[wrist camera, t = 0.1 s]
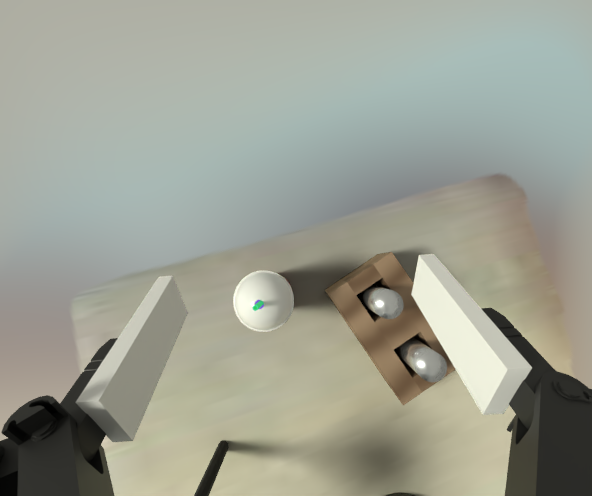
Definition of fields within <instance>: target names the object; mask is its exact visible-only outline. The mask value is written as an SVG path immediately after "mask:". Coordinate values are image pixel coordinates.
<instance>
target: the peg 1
mask: <svg viewBox="0 0 592 496" xmlns="http://www.w3.org/2000/svg"><path fill="white" fill-rule="evenodd" d="M362 301H363V304H364V305H365V306H366V307H367V308H368V309H370V310H371V311H373V312H374V313H376V314H378V315H379V316H381V317H382V318H385V319H394V318H396V317H398V316H399V315H400V314H401V312H402V310H403V306H404V305H403V299H402V297H401V296H400V295H399V294H398V293H397V292H395V291H393V290H389V289H386V288H382V287H378V286H370V287H368V288H366V289H365V290H364V292H363V294H362Z"/></svg>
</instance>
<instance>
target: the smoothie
mask: <svg viewBox="0 0 592 496" xmlns="http://www.w3.org/2000/svg"><path fill="white" fill-rule="evenodd" d="M233 306H234V310H235V313H236V316H237V317H238V318H239V320H240V321H241V323H242V324H244V325H245V326H246V327H248V328H249V329H251V330H255V331H258V332H270V331H272V330H275V329H278V328H279V327H281V326H282V325H283V324H285V323H286V321H287V320H288V319H289V317H290V316H291V314H292V310H293V307H294V295H293V292H292V288H291V285H290V283H289V281H288V280H287V279H286V278H285V277H283V276H282V275H279V274H278V273H275V272H272V271H269V270H258V271H256V272H253V273H250V274H248V275H247V276H246V277H244V278H243V279H242V280H241V281H240V283H239V284H238V285H237V287H236V290H235V293H234V296H233Z"/></svg>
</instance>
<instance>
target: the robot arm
mask: <svg viewBox="0 0 592 496" xmlns="http://www.w3.org/2000/svg"><path fill="white" fill-rule="evenodd" d="M411 295H412V296H413V298H414V300H415V301H416V303H417V305H418V307H419V308H420V310H421V312H422V313H423V315H424V317H425V318H426V320H427V322H428V323H429V325H430V327H431V328H432V330H433V332H434V334H435V335H436V337H437V339H438V340H439V342H440V344H441V345H442V347H443V349H444V350H445V352H446V354H447V355H448V357H449V359H450V361H451V362H452V364H453V366H454V367H455V369H456V371H457V372H458V374H459V376H460V377H461V379H462V381H463V382H464V384H465V386H466V388H467V389H468V391H469V393H470V394H471V396H472V398H473V399H474V401H475V403H476V404H477V406H478V408H479V409H480V411H481V413H482V415H490V414H504V412H505V411H506V409H507V407H508V406H509V405H510V406H511V407H512V409H513V410H514V412H515V413H516V415H515V417H514V418H513V420H512V421H511V423H510V424H509V426H508V428H507V431H509V432H511V430H512V429H513V430H512V439H511V447H510V456H509V464H508V473H507V482H506V490H505V496H592V389H589V388H588V387H586V386H585V385H584V384H582V383H581V382H580V381H578V380H577V379H575V378H573V377H571V376H569V375H567V374H563V373H560V372H557V371H556V370H554V369H553V368H552V367H551V365H550V364H549V363H548V362H547V361H546V360H545V359H544V358H543V357H542V356H541V355H540V354H539V353H538V352H537V351H536V349H535V348H534V347H533V346H532V345H531V344H530V343H529V342H528V341H527V340H526V339H525V338H524V337H522V335H521V333H520V332H519V331H518V330H517V329H516V328H514V326H513V325H512V324H511V323H510V322H509V321H508V320H507V319H506V317H505V316H503V315H502V314H500V313H499V312H497V311H495V310H494V309H492V308H483V309H481V308H480V307H479V306H478V304H477V303H476V302H475V301H474V300H473V299H472V298H471V296H470V295H469V294H468V293H467V292H466V291H465V289H464V288H463V287H462V286H461V285H460V284H459V282H458V281H457V280H456V279H455V278H454V277H453V276H452V274H451V273H450V272H449V271H448V270H447V269H446V267H445V266H444V265H443V264H442V263H441V262H440V261H439V259H438V258H437V257H436V256H435V255H434V254H424V255H419V258H418V263H417V268H416V273H415V278H414V284H413V289H412V294H411ZM187 314H188V312H187V309H186V307H185V304H184V302H183V299H182V297H181V294H180V292H179V289H178V287H177V284H176V282H175V279H174V277H173V276H161V277H158V279H157V280H156V282H155V283H154V285H153V286H152V288H151V289H150V291H149V292H148V294H147V295H146V297H145V298H144V300H143V301H142V303H141V304H140V306H139V307H138V309H137V310H136V312H135V313H134V315H133V316H132V318H131V319H130V321H129V322H128V324H127V325H126V327H125V328H124V330H123V331H122V333H121V334H120V336H119V337H118V338H116V339H110V340H109V341H108V342H106V343H105V344H104V345H103V346H102V347H101V348H100V349H99V350H98V351H97V353H96V354H95V355H94V357H93V358H92V360H91V363H89V364H88V365H87V367H86V368H85V369H84V370H85V371H84V372H82V374H81V375H80V377H79V378H78V379H77V381H76V382H75V384H74V385H73V386H72V388H71V389H70V391H69V392H68V393H67V395H66V396H65V398H64V399H63V401H62V402H61V403H60V404H59V403H58V402H57V401H56V400H55V399H54V398H53V397H50V396H42V397H38V398H36V399H33V400H31V401H29V402H28V403H26V404H25V405H23V406H22V407H20V408H19V409H18V410H17V411H16V412H15V413H14V414H13V415H11V416H10V418H9V419H8V420H7V422H6V423H5V425H4V427H3V430H2V434H4V435H5V436H6V437H8V439H5V440H2V441H0V496H114V492H113V488H112V483H111V479H110V474H109V470H108V466H107V461H106V457H105V452H104V449H103V447H102V446H101V443H102V441H103V439H104V437H105V435H107V437H108V438H109V439H110V440H111V441H112V442H122V441H133V439H134V437H135V434H136V432H137V430H138V427H139V425H140V423H141V420H142V418H143V416H144V413H145V411H146V409H147V407H148V404H149V402H150V400H151V397H152V395H153V393H154V390H155V388H156V386H157V383H158V381H159V379H160V376H161V374H162V372H163V369H164V367H165V365H166V362H167V360H168V358H169V355H170V353H171V351H172V349H173V346H174V344H175V342H176V339H177V337H178V335H179V332H180V330H181V328H182V325H183V323H184V321H185V318H186V316H187ZM388 496H413V495H409V494H392V495H388Z"/></svg>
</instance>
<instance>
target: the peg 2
mask: <svg viewBox="0 0 592 496" xmlns="http://www.w3.org/2000/svg"><path fill="white" fill-rule="evenodd" d="M397 352H398V355H399V356H400V358H401V359H402V360H403V361H405V362H406V363H407V364H408V365H409V366H410V367H411V368H412V369H413V370H414V371H415V372H416V373H417V374H418V375H419V376H421V377H422V378H423V379H424V380H426V381H428V382H437V381H440V380H441V379H442V378H443V377H444V376H445V374H446V372H447V364H446V361H445V359H444V358H443V357H442V356H441V355H440V354H439V353H437V352H435V351H434V350H432V349H431V348H429V347H428V346H426V345H425V344H423V343H421V342H420V341H418V340H417V339H415V338H413V337H412V338H410V339H409V340H407V341H406V342H404V343H403V344H401V345H400V346H399V347H397Z"/></svg>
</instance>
